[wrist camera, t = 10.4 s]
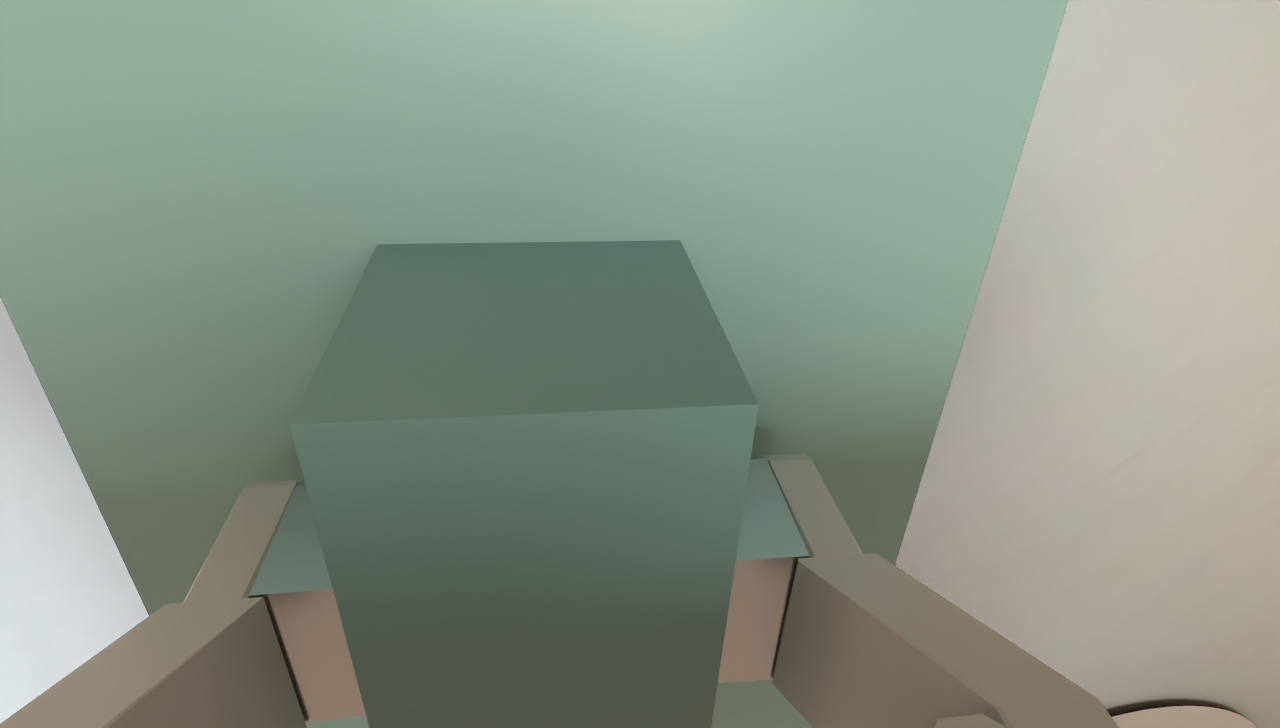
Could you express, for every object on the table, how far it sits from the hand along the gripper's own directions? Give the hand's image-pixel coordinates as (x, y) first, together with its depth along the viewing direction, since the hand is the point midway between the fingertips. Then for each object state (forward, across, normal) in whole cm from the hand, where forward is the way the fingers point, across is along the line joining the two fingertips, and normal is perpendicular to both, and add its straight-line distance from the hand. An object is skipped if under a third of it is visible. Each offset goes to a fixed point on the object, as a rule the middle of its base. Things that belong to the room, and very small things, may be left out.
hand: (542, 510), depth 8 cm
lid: (+2, 0, 0) cm, 2 cm away
